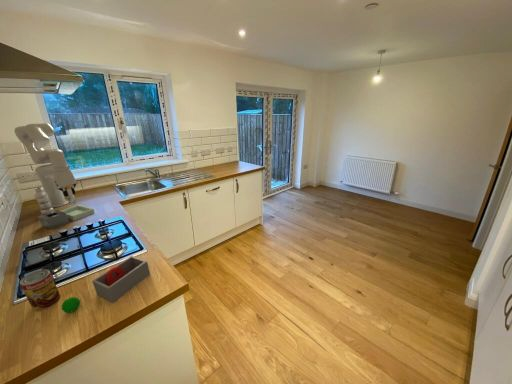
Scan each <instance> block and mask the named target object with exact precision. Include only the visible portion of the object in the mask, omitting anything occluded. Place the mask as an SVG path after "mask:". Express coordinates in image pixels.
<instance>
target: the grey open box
mask: <svg viewBox="0 0 512 384" xmlns="http://www.w3.org/2000/svg"><path fill="white" fill-rule="evenodd" d="M116 266H118V267H121V268H122V269H123V270H124V274H125V276H123V277H122V278H120V279H119V280H118V281H116V282H115V283H113V284H112V285H111V286H107V284H106V281H105V276H106V274H107V272H108V271H109V270H110V269H109V270H107V271H106V272H104V273H103V274H100V276H98V277H96V278H94V279H93V280H91V281H92V284H93V288H94V290H95V292H96V295H97V296H98V297H99V298H102V299H104V300H105V301H108V302H110V303H112V304H114V303H116V301H118V300H119V299H121V298H122V297H123V296H125V295H126V294H127V293H128V292H129V291H131V290H132V289H134V288H135V287H136V286H137V285H139V284H140V283H141V282H142V281H143V280H145V279H146V278H147V277H149V276H150V275H151V273H150V268H149V264H148V260H146V259H142V258H138V257H136V256H133V255H130V256H129V257H128V258H126V259H124V260H123V261H121V262H119V263H118V264H116V265H115V266H114V267H116ZM127 273H128V274H127ZM116 276H117V272H115V273H114V274H113V275H112V278H115V277H116Z"/></svg>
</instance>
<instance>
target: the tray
mask: <svg viewBox="0 0 512 384" xmlns="http://www.w3.org/2000/svg"><path fill="white" fill-rule="evenodd" d="M60 211H61V212H64V213H66V215H67V218H68V220H72V221H77V220H79V219H82V218H85V217H87V216H89V215H92V214H95V209H94V208H92V207H88V206H85V205H81V204H78V205H73V206H71V207H68V208H65V209H62V210H60Z"/></svg>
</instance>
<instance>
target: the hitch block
mask: <svg viewBox="0 0 512 384" xmlns="http://www.w3.org/2000/svg"><path fill="white" fill-rule="evenodd" d="M61 211H62V210H54V212H51V213H48V214H45V215H42V214H41V215H40V216H39V215H38V216H37V218H38V220H39V223H40V225H41V227H42V228H45V229H47V230H53V229H56V228H60V227H61V226H64V225H66V224H69V223H70V221H69V219H68V218H67V215H66V213H64V212H61Z"/></svg>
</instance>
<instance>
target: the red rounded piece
mask: <svg viewBox="0 0 512 384" xmlns="http://www.w3.org/2000/svg"><path fill="white" fill-rule="evenodd" d="M115 266H116V265H115ZM115 266H113V267H111V268H110V269H109V271H108V270H107V271H108V272H107V271H106V272H107V274H106V276H105V281H106V284H107V286H111V285H112V284H113V283H115V282H116V281H118V280H119V279H120V278H122V277H123V276H125V274H124V270H123V269H122V268H121V267H118V266H116V267H115ZM115 272H117V276H116V277H115V278H112V275H113V274H114V273H115ZM127 274H128V273H127Z"/></svg>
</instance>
